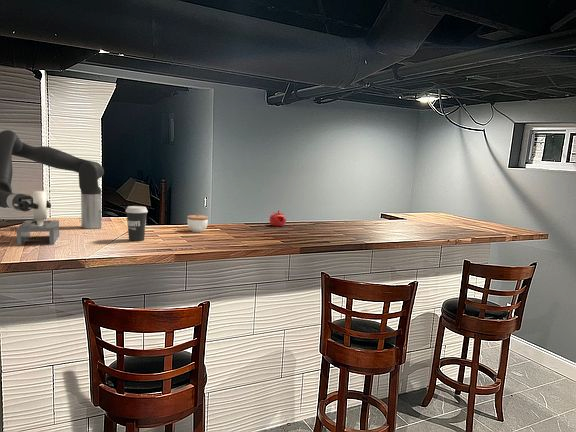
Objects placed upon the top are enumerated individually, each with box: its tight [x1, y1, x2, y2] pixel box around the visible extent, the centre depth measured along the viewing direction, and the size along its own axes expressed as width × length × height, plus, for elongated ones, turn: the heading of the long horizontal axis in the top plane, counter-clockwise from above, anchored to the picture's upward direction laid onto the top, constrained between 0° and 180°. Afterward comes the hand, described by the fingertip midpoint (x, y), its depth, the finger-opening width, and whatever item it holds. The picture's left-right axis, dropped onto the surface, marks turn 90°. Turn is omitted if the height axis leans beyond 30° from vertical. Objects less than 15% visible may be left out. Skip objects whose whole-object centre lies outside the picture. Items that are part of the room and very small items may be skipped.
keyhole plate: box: [16, 219, 60, 247], centre depth 184 cm, size 20×13×7 cm, turn 22°
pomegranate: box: [269, 209, 287, 228], centre depth 257 cm, size 10×10×9 cm
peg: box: [32, 190, 48, 226], centre depth 187 cm, size 6×6×16 cm
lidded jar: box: [186, 212, 209, 233], centre depth 225 cm, size 11×11×9 cm
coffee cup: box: [125, 205, 149, 242], centre depth 194 cm, size 10×10×15 cm
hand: (43, 206), depth 186 cm, fingers closed on peg, 5 cm apart
